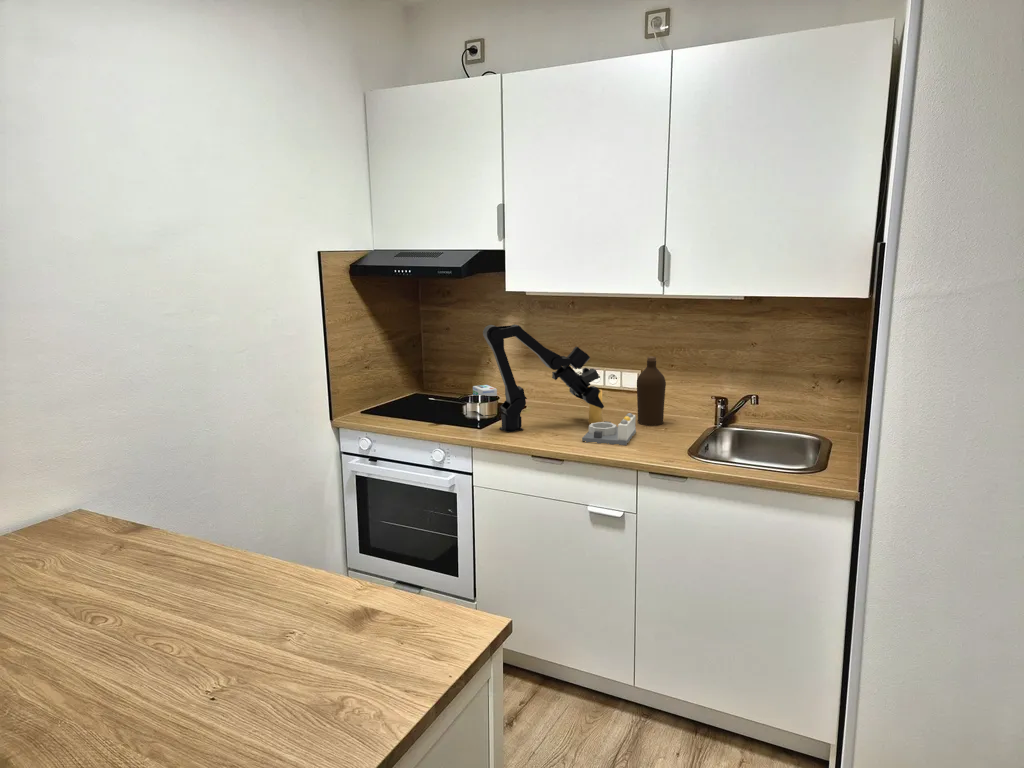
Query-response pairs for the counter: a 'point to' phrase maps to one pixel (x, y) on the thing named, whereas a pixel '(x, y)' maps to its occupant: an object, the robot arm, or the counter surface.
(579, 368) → the robot arm
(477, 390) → the light bulb box
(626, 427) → the ball rail dock
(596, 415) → the cap
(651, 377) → the olive oil
